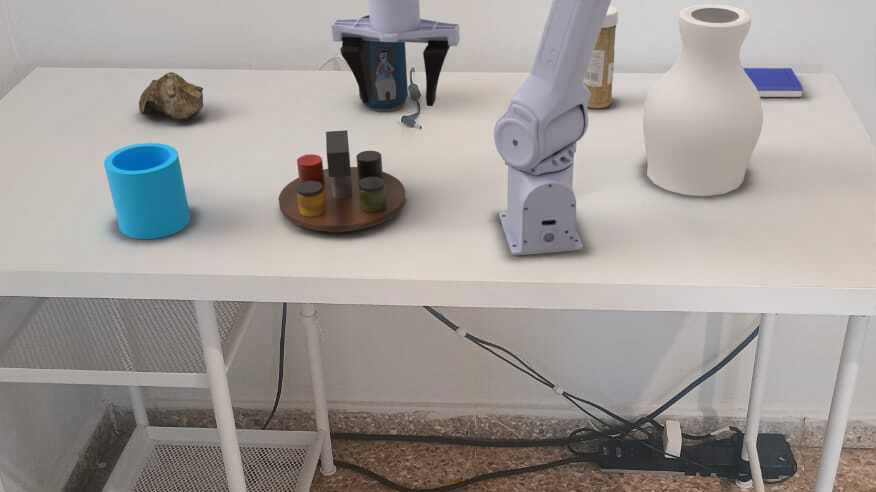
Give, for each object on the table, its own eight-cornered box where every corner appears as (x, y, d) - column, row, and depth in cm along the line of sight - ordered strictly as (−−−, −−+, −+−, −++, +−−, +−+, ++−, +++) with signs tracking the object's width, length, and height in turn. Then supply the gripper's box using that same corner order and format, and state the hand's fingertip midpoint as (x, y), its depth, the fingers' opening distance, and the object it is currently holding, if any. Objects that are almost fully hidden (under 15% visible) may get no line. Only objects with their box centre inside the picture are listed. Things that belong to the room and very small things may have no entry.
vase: (625, 190, 126) (639, 27, 114) (650, 143, 137) (665, -11, 125) (744, 208, 122) (772, 40, 110) (760, 158, 133) (786, 0, 121)
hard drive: (715, 87, 148) (803, 87, 148) (707, 66, 155) (790, 66, 154) (714, 98, 149) (801, 98, 149) (705, 76, 156) (789, 76, 155)
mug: (185, 237, 119) (172, 172, 114) (113, 241, 118) (97, 176, 113) (199, 189, 128) (187, 127, 124) (132, 192, 128) (118, 130, 123)
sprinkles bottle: (618, 104, 148) (625, 9, 140) (593, 112, 146) (599, 16, 138) (597, 94, 151) (603, 1, 143) (573, 101, 149) (577, 7, 141)
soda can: (386, 90, 153) (381, 9, 146) (418, 103, 149) (414, 19, 142) (350, 103, 149) (343, 20, 142) (381, 117, 145) (376, 32, 138)
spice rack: (401, 168, 130) (397, 111, 125) (410, 226, 118) (407, 165, 113) (280, 176, 129) (273, 119, 124) (277, 236, 117) (269, 174, 112)
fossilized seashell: (220, 96, 146) (179, 91, 152) (189, 63, 141) (148, 59, 147) (190, 138, 144) (150, 131, 150) (158, 106, 139) (118, 100, 145)
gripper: (320, -7, 113) (331, 111, 121) (451, -2, 111) (453, 117, 119) (336, -25, 119) (346, 88, 127) (461, -22, 117) (463, 94, 125)
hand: (399, 101), depth 123 cm, fingers open, 7 cm apart
